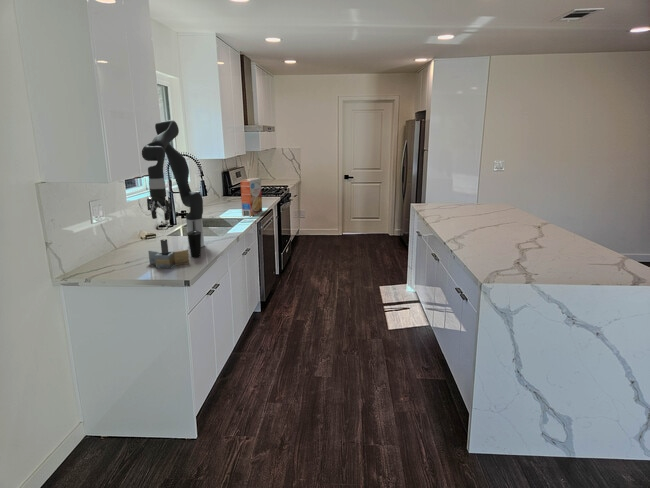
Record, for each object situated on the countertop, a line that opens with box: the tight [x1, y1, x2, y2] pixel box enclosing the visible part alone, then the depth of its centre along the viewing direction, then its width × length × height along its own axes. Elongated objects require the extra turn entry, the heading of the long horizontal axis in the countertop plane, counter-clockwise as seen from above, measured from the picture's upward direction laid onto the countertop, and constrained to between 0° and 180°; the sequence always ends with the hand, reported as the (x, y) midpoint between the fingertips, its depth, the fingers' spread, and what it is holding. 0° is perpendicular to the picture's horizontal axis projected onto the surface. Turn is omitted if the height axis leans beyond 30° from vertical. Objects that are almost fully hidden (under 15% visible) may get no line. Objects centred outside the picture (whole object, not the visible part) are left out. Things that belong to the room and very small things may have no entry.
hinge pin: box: [159, 238, 169, 255], centre depth 217 cm, size 3×3×14 cm
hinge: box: [147, 249, 190, 270], centre depth 220 cm, size 11×20×7 cm, turn 84°
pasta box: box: [240, 177, 263, 218], centre depth 361 cm, size 23×8×30 cm, turn 165°
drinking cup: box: [186, 221, 202, 259], centre depth 234 cm, size 8×8×20 cm
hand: (160, 219), depth 215 cm, fingers open, 8 cm apart
